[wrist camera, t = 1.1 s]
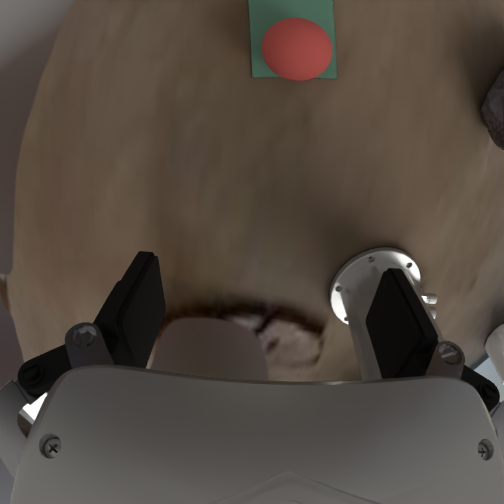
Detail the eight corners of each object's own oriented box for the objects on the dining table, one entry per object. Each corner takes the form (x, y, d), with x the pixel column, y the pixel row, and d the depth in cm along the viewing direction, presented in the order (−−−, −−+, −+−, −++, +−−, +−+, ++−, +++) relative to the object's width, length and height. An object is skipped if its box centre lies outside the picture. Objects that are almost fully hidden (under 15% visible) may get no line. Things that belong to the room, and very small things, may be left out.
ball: (329, 32, 21) (344, 19, 16) (320, 87, 24) (333, 86, 19) (266, 21, 21) (265, 4, 16) (258, 76, 24) (255, 72, 19)
